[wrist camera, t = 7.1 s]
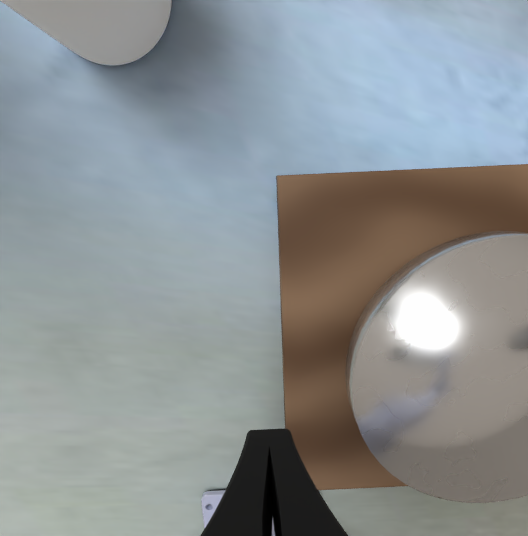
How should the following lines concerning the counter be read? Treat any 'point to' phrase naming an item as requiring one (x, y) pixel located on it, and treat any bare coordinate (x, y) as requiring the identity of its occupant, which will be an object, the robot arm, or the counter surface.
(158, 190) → the counter surface
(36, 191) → the counter surface
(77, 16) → the can
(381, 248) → the base board
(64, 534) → the counter surface
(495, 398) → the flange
